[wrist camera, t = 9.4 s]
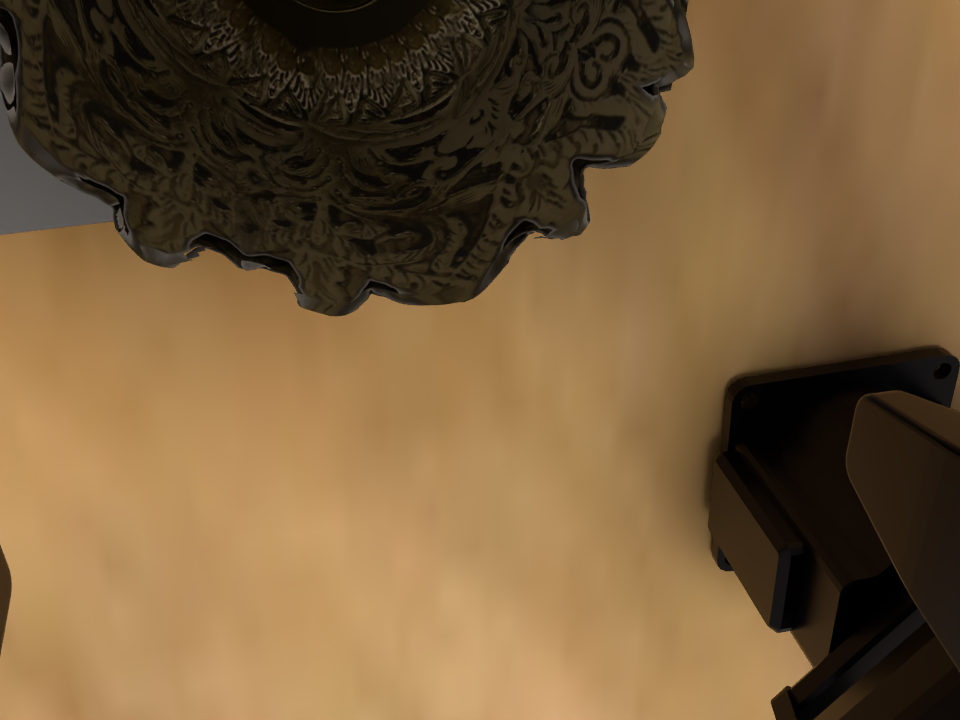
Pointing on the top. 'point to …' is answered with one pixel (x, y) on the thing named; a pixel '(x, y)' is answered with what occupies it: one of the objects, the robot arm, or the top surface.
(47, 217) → the board
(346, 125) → the cup
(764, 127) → the top surface
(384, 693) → the top surface
